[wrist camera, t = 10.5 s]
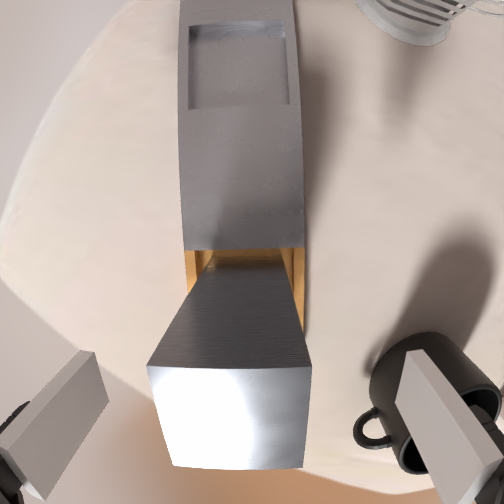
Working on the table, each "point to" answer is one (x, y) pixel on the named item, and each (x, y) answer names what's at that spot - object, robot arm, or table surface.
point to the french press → (417, 18)
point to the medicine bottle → (501, 418)
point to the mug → (387, 384)
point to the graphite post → (235, 370)
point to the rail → (240, 135)
